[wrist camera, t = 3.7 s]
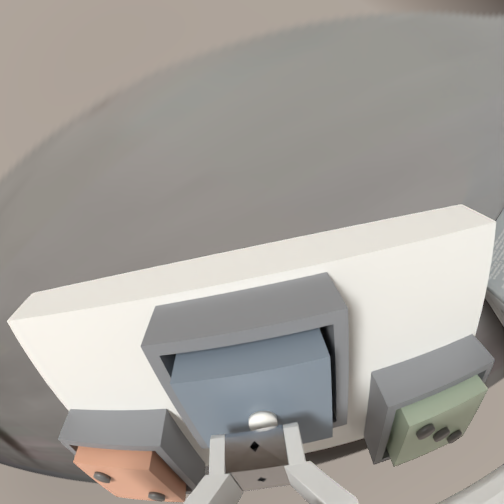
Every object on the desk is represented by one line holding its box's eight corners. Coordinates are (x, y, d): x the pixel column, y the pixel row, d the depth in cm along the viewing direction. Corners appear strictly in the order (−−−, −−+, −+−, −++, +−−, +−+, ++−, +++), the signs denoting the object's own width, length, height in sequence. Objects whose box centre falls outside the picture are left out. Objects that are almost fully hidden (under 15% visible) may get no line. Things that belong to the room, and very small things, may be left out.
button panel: (461, 204, 14) (530, 240, 9) (433, 378, 19) (464, 428, 14) (32, 292, 14) (-17, 349, 9) (126, 435, 20) (114, 490, 15)
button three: (470, 365, 13) (490, 392, 11) (450, 415, 15) (463, 439, 13) (395, 397, 13) (411, 431, 11) (384, 442, 15) (395, 470, 13)
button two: (154, 439, 13) (148, 475, 11) (186, 476, 15) (184, 506, 13) (81, 436, 13) (71, 466, 11) (121, 474, 15) (115, 500, 13)
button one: (315, 318, 10) (332, 363, 8) (322, 402, 12) (334, 442, 10) (177, 344, 11) (168, 390, 8) (215, 421, 13) (214, 462, 10)
